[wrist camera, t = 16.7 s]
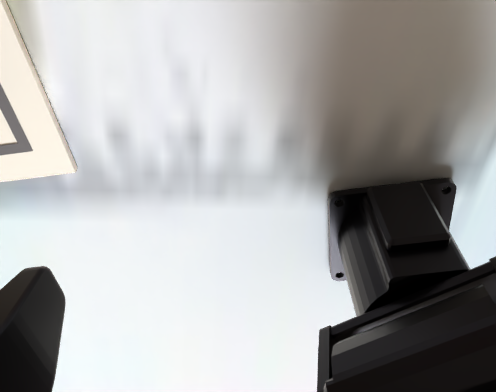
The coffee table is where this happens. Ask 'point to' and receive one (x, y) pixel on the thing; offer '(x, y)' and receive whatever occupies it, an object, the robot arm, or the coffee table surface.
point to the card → (26, 114)
